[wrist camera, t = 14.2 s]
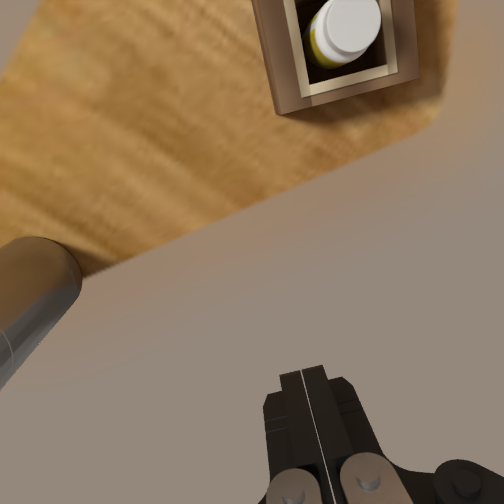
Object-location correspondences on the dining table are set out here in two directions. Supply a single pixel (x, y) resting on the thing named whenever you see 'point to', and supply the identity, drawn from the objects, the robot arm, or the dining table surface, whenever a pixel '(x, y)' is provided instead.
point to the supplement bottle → (340, 32)
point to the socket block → (374, 77)
